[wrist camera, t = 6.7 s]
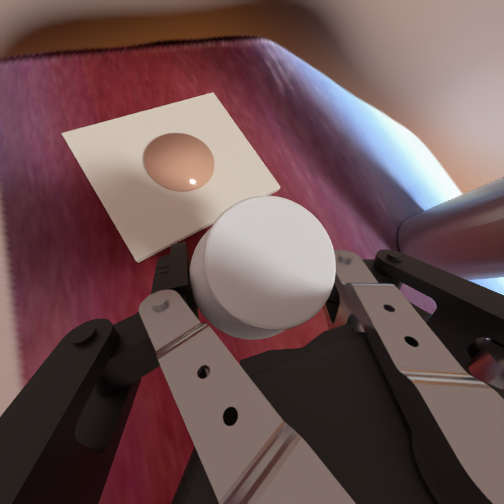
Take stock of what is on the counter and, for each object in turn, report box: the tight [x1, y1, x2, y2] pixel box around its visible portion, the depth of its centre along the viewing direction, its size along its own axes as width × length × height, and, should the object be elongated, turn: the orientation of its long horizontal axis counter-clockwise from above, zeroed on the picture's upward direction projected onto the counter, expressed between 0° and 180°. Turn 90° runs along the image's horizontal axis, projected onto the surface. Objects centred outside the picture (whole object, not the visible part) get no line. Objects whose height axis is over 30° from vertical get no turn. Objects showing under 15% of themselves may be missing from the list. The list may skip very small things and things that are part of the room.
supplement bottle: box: [189, 196, 336, 340], centre depth 10 cm, size 5×5×10 cm
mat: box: [61, 93, 280, 263], centre depth 21 cm, size 17×15×1 cm
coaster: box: [144, 133, 214, 192], centre depth 20 cm, size 7×7×1 cm
